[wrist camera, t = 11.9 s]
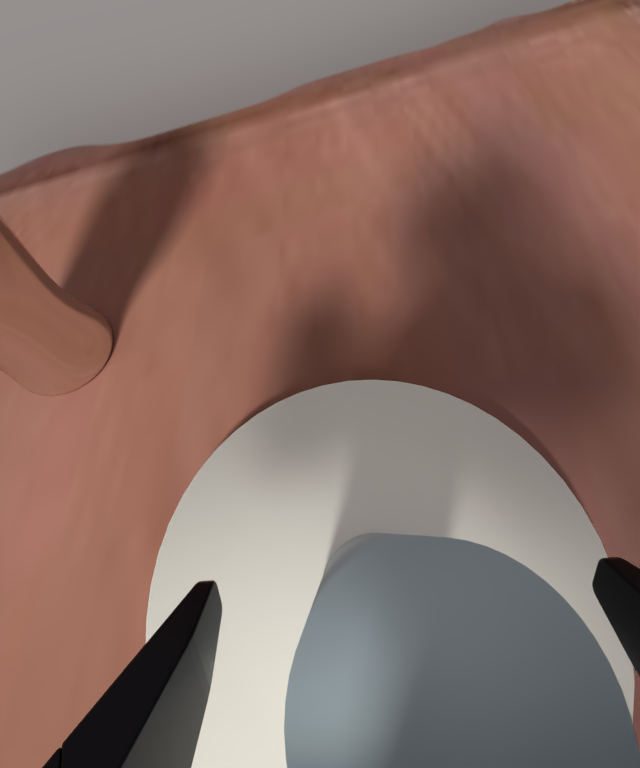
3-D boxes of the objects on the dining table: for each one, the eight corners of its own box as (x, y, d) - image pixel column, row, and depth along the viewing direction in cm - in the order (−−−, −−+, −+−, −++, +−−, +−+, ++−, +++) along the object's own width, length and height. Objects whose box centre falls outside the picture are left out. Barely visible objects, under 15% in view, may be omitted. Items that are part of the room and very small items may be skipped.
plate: (272, 1072, 12) (265, 1129, 11) (107, 499, 19) (93, 497, 18) (726, 711, 14) (758, 726, 13) (431, 331, 22) (436, 320, 20)
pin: (422, 690, 14) (634, 1094, 4) (303, 637, 15) (228, 861, 5) (450, 557, 16) (649, 606, 6) (341, 516, 17) (345, 494, 7)
